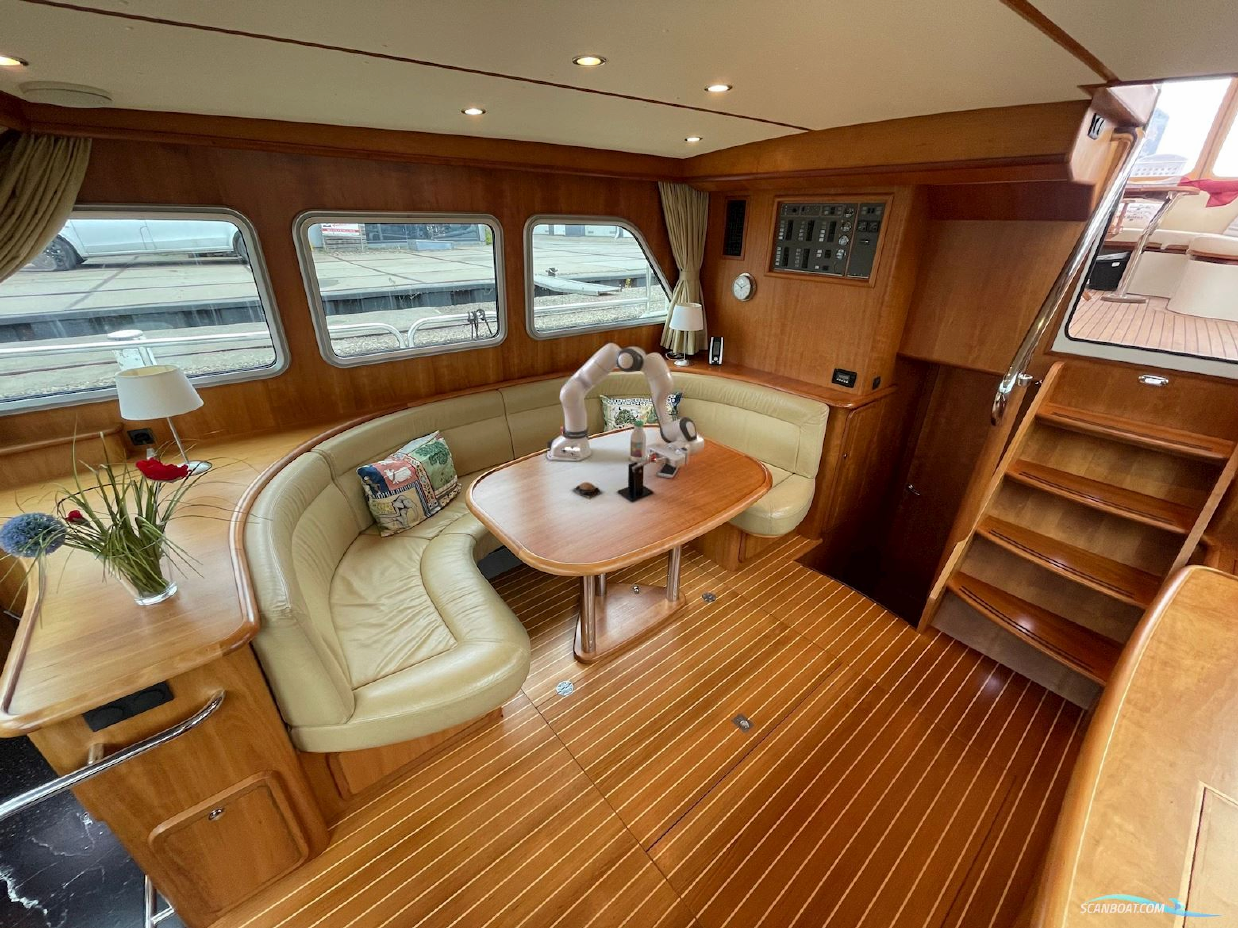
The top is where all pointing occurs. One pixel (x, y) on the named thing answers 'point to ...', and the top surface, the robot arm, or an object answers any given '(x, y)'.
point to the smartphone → (667, 471)
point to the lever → (651, 458)
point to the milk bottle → (638, 443)
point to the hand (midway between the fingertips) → (651, 459)
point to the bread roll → (587, 490)
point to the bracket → (635, 484)
